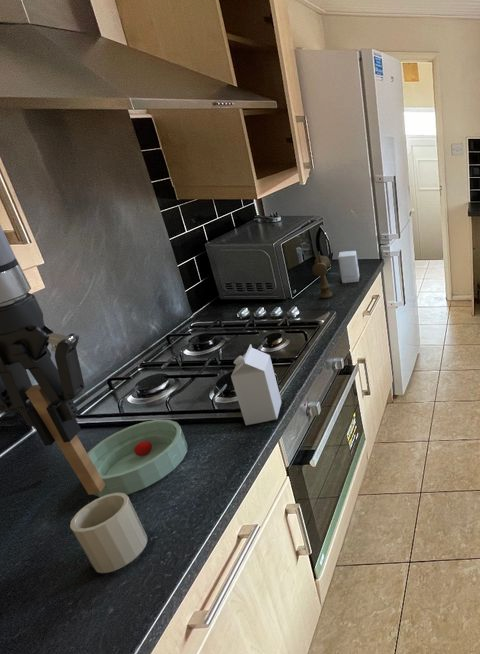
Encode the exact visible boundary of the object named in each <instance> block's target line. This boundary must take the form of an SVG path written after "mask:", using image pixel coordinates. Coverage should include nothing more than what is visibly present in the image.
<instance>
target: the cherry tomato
mask: <svg viewBox="0 0 480 654" xmlns="http://www.w3.org/2000/svg"><path fill="white" fill-rule="evenodd" d="M151 449H152V445H151V443H150V442H147V441H144V442H140V443H139V444H137V445H136V447H135V449H134V452H135V454H136V455H139V456H143V455H146V454H148V453H149V452H150V451H151Z"/></svg>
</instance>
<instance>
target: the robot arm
mask: <svg viewBox="0 0 480 654" xmlns="http://www.w3.org/2000/svg"><path fill="white" fill-rule="evenodd" d="M31 290H32V286H31V285H30V282H29V281H28V279H27V277H26V275H25V273H24V271H23V269H22V266H21V265H20V263H19V262H18V259H17V258H16V255H15V253H14V251H13V249H12V246H11V244H10V242H9V240H8V238H7V236H6V234H5V231H4V229H3V227H2V225H1V224H0V411H1V412H3V411H5V412H6V411H7V410H15V412H18V413H20V415H21V416H22V418H23V420H24V422H25V424H26V425H27V426H28V427H29V428H34V429H35V431H36V432H37V434H38V436H39V438H40V439H41V441H42V443H43V445H44V446H45V447H49V446H52V445H53V444H54V443H56V441H55V439H54V438H53V436H52V435H51V433H50V431H49V430H48V428H47V426H46V425H45V423H44V422H43V420H42V418H41V417H40V415H39V414H38V412H37V410H36V409H35V407H34V406H33V404H32V402H31V401H30V399H29V398H28V396H27V394H26V393H25V392H26V391H27V390H28V389H29V388H30V387H31V386H33V383H32V381H31V379H30V375H29V374H28V371H29V372H30V374H31V377H32V378H33V379H34V380H35V382H36V383H37V385H39V386H40V388H41V389H42V391H43V392H44V394H45V395H46V397H47V398H48V400H49V401H50V403H51V404H50V405H49V406H48V407H47V408H46V410H47V411H48V413H49V415H50V417H51V419H52V421H53V423H54V425H55V427H56V428H57V430H58V432H59V434H60V436H61V438H62V440H63V442H64V443H65V442H70V441H71V440H72V439H73V438H74V437H75V436H76V435H78V434H79V432H81V430H82V428H81V426H80V424H79V422H78V420H77V418H76V416H77V415H78V414H79V410H78V408H77V406H76V404H75V402H74V399H75V398H76V397H77V396H78V395H79V394H80V393H81V392H82V391H83V390H84V389H85V383H84V377H83V373H82V369H81V364H80V360H79V355H78V350H77V346H78V344H79V339H80V336H79V335H78V334H76V333H70V334H68V335H63V334H60V333H55V332H54V330H53V329H52V328H51V327H50V326H48V325H47V324H46V323H45V321H44V313H43V311H42V309H41V306H40V304H39V302H38V300H37V298H36V296H35V295H34V294H33V293H31V292H30V291H31ZM49 344H50V345H51V351H52V352H54V361H55V363H54V362H53V360H52V358H51V357H52V353H51V351H50V350H49V348H48V347H49ZM55 364H56V365H55ZM27 370H28V371H27Z"/></svg>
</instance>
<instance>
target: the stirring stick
mask: <svg viewBox="0 0 480 654" xmlns="http://www.w3.org/2000/svg"><path fill="white" fill-rule="evenodd" d="M25 393H26V394H27V396H28V398H29V399H30V401H31V402H32V404H33V406H34V407H35V409H36V410H37V412H38V414H39V415H40V417H41V418H42V420H43V422H44V423H45V425H46V426H47V428H48V430H49V431H50V433H51V435H52V436H53V438H54V439H55V443H56V445H57V447H58V448H59V449H60V451H61V453H62V454H63V456H64V457H65V459H66V461H67V462H68V464H69V466H70V467H71V468H72V470H73V472H74V473H75V475H76V477H77V478H78V480H79V481H80V483H81V485H82V486H83V488H84V489H85V491H86V493H87V494H88V495H89V496H91V495H93V494H96V493H100V492H101V491H102V489H103V488H104V486H105V483H104V481H103V480H102V478H101V476H100V474H99V473H98V471H97V469H96V468H95V466H94V464H93V462H92V461H91V459H90V457H89V456H88V454H87V453H88V452H87V451H86V449H85V447H84V445H83V444H82V442H81V440H80V439H79V437H78V434H76V436H75V437H74V438H73V439H72V440H71V441H70V442H65V443H64V442H63V440H62V438H61V436H60V434H59V432H58V430H57V428H56V427H55V425H54V423H53V421H52V419H51V417H50V415H49V413H48V411H47V410H46V408H47V407H48V406H49V405H50V404H51V403H50V401H49V400H48V398H47V397H46V395H45V394H44V392H43V391H42V389H41V388H40V386H39V385H38V384H32V386H31V387H30V388H29V389H28V390H27V391H26V392H25Z"/></svg>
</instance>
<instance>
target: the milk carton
mask: <svg viewBox="0 0 480 654" xmlns="http://www.w3.org/2000/svg"><path fill="white" fill-rule="evenodd" d="M233 364H234V365H235V367H234V369H233V371H232V373H231V375H230V378H231V383H232V385H233V388H234V392H235V395H236V399H237V401H238V404H239V408H240V412H241V415H242V419H243V421H244V424H245V426H250V425H255V424H261V423H266V422H270V421H275V420H278V417H279V413H280V409H281V407H282V403H283V401H282V397H281V393H280V390H279V385H278V382H277V379H276V373H275V371H274V366H273V363H272V359H271V355H270V354H268V353H266V352H263V351H261V350H259V349H256V348H254V347H253V346H252V344H251V343H250V344H249V346H248V348H247V350H246V352H245V353H244V354H243V355H238V356H237V357H236V359H234V360H233Z"/></svg>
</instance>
